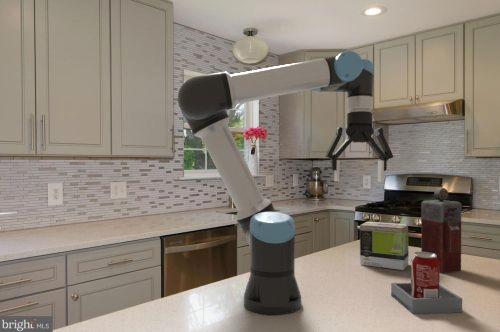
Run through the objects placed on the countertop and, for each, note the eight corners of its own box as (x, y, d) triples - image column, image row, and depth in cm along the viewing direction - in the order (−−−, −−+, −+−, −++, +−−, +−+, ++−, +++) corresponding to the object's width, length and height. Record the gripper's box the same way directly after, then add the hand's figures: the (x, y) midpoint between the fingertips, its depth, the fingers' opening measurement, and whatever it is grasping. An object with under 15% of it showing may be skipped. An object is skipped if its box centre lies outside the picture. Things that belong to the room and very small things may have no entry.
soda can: (442, 305, 97) (443, 258, 97) (414, 303, 98) (414, 256, 98) (435, 295, 103) (435, 251, 103) (408, 294, 105) (408, 250, 105)
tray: (412, 313, 94) (412, 299, 94) (391, 295, 107) (391, 283, 107) (462, 312, 95) (462, 298, 95) (435, 294, 107) (435, 282, 107)
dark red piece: (447, 275, 125) (447, 189, 124) (420, 266, 135) (421, 187, 135) (467, 272, 128) (467, 188, 128) (440, 263, 138) (440, 186, 138)
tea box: (409, 264, 138) (409, 223, 138) (403, 271, 130) (403, 228, 129) (367, 258, 146) (367, 220, 146) (359, 265, 138) (359, 224, 137)
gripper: (394, 114, 121) (393, 181, 121) (316, 112, 120) (315, 180, 120) (405, 111, 114) (404, 182, 114) (322, 109, 112) (321, 181, 112)
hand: (358, 181), depth 117 cm, fingers open, 13 cm apart
